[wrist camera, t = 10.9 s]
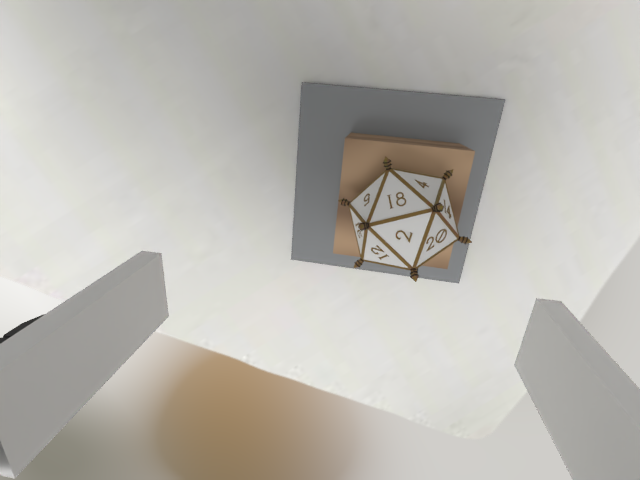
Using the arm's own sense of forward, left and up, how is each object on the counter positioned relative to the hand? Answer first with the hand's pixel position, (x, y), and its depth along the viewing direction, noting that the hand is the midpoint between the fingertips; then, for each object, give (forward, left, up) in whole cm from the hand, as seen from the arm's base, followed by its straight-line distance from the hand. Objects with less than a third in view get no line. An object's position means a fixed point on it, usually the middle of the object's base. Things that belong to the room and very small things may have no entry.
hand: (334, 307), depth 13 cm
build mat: (+1, +2, -25) cm, 25 cm away
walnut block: (+1, +3, -25) cm, 25 cm away
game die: (+1, +3, -19) cm, 19 cm away
